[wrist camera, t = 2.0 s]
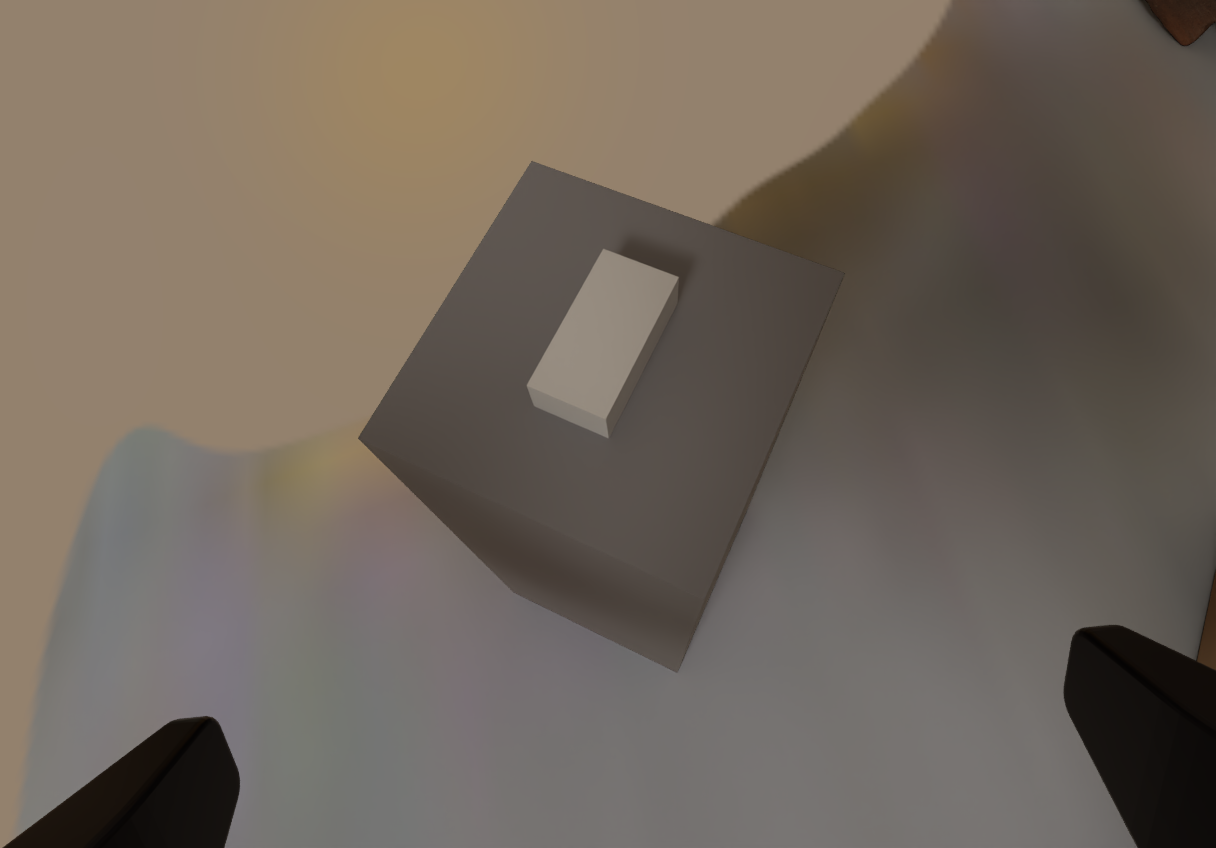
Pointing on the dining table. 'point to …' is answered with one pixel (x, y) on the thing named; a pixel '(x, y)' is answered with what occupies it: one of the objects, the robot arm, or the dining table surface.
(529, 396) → the charger
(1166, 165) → the dining table surface
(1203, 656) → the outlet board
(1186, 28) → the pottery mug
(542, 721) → the dining table surface
